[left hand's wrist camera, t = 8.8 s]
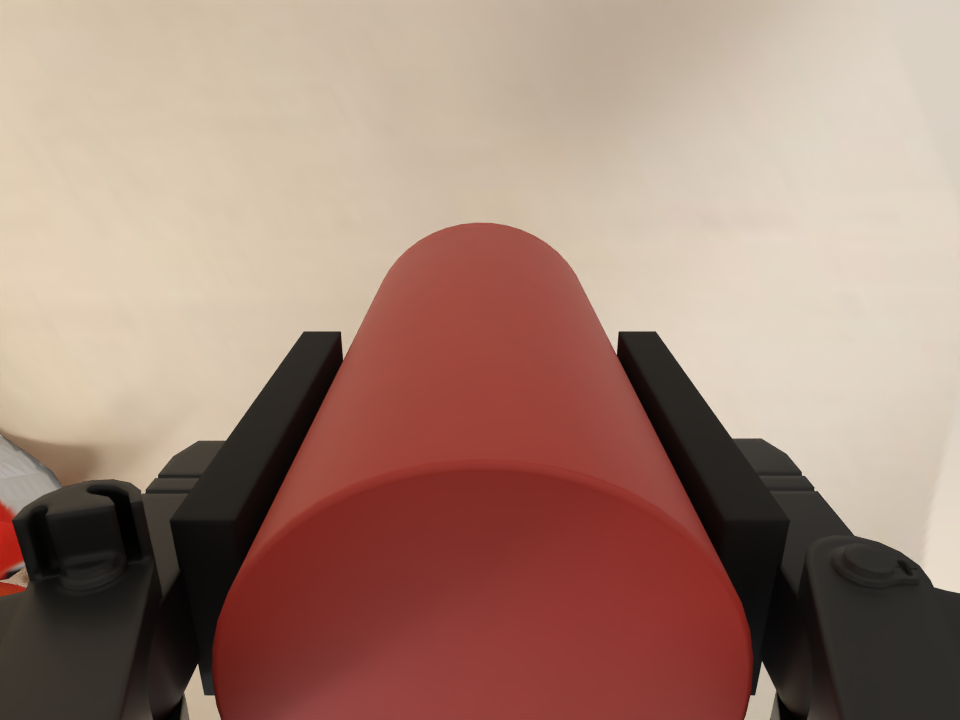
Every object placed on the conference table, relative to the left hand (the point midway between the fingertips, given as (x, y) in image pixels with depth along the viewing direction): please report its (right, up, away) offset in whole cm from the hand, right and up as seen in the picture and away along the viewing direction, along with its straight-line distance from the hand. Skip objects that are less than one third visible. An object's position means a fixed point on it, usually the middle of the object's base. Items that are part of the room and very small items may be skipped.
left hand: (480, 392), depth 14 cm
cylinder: (0, +1, +4) cm, 4 cm away
